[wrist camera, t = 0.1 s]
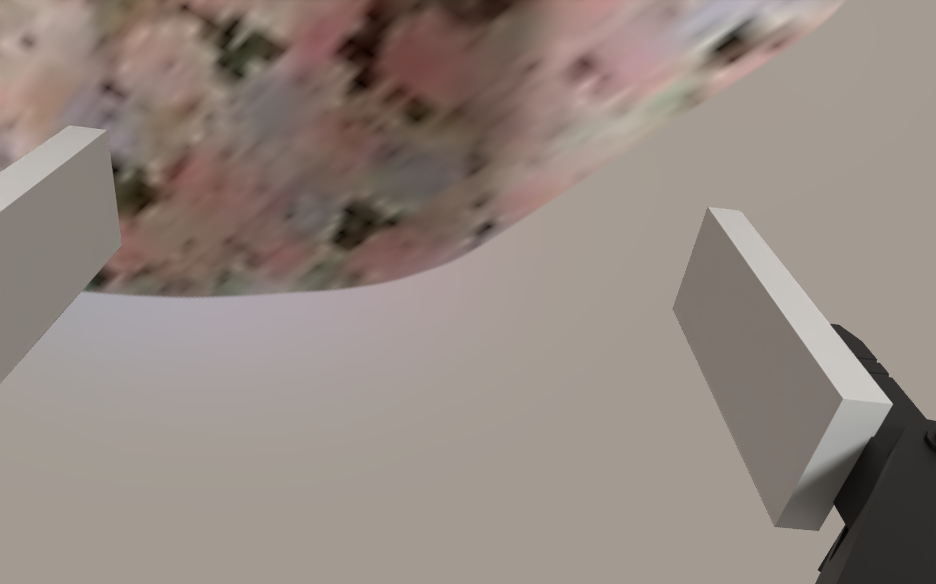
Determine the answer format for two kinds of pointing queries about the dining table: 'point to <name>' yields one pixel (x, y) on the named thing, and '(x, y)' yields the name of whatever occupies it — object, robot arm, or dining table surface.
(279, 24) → the dining table surface
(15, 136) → the dining table surface
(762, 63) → the dining table surface
